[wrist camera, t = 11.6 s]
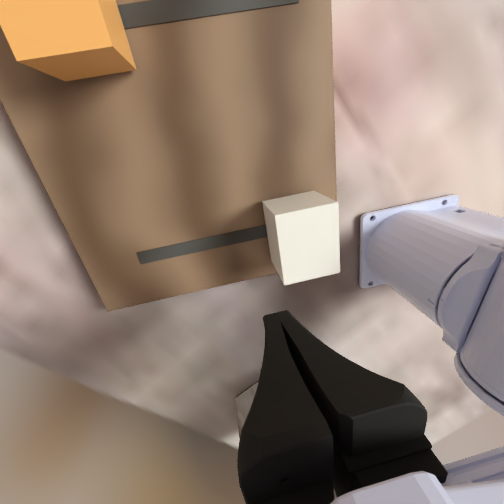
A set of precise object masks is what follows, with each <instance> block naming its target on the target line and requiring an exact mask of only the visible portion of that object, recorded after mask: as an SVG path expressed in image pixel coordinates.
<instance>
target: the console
mask: <svg viewBox="0 0 504 504" xmlns="http://www.w3.org/2000/svg"><path fill="white" fill-rule="evenodd" d="M116 3H117V6H118V9H119V13H120V16H121V19H122V23H123V26H124V29H125V33H126V36H127V39H128V43H129V46H130V50H131V53H132V56H133V60H134V63H135V66H136V70H133V71H127V72H121V73H115V74H108V75H102V76H96V77H90V78H84V79H78V80H72V81H66V82H65V81H63V80H61V79H58V78H56V77H53V76H51V75H49V74H46V73H44V72H42V71H39V70H37V69H34V68H32V67H30V66H27V65H25V64H22V63H20V62H18V61H17V60H16V58H15V56H14V54H13V52H12V50H11V47H10V45H9V43H8V41H7V39H6V36H5V34H4V32H3V30H2V28H1V25H0V100H1V102H2V104H3V106H4V108H5V110H6V112H7V114H8V116H9V118H10V120H11V122H12V124H13V126H14V128H15V130H16V132H17V134H18V136H19V138H20V140H21V142H22V144H23V146H24V148H25V150H26V152H27V153H28V155H29V157H30V159H31V161H32V163H33V165H34V167H35V169H36V171H37V173H38V175H39V177H40V179H41V181H42V183H43V185H44V187H45V189H46V191H47V193H48V195H49V197H50V199H51V201H52V203H53V205H54V207H55V209H56V211H57V213H58V215H59V217H60V219H61V221H62V223H63V225H64V227H65V228H66V230H67V232H68V234H69V236H70V238H71V240H72V242H73V244H74V246H75V248H76V250H77V252H78V254H79V256H80V258H81V260H82V262H83V264H84V266H85V268H86V270H87V272H88V274H89V276H90V278H91V280H92V282H93V284H94V286H95V288H96V290H97V292H98V294H99V296H100V298H101V300H102V301H103V303H104V305H105V307H106V309H107V311H112V310H116V309H121V308H125V307H130V306H134V305H138V304H143V303H147V302H152V301H156V300H160V299H165V298H169V297H173V296H178V295H182V294H187V293H191V292H195V291H200V290H204V289H209V288H213V287H217V286H222V285H226V284H231V283H235V282H239V281H244V280H248V279H253V278H257V277H261V276H266V275H270V274H275V273H278V272H277V271H276V269H275V267H274V265H273V263H272V261H271V255H270V249H269V242H268V236H267V229H266V223H265V216H264V210H263V203H262V201H266V200H271V199H276V198H280V197H285V196H290V195H295V194H300V193H305V192H310V191H316V192H318V193H320V194H322V195H324V196H326V197H329V198H331V199H333V200H335V201H337V191H336V156H335V120H334V85H333V50H332V14H331V0H116Z"/></svg>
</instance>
